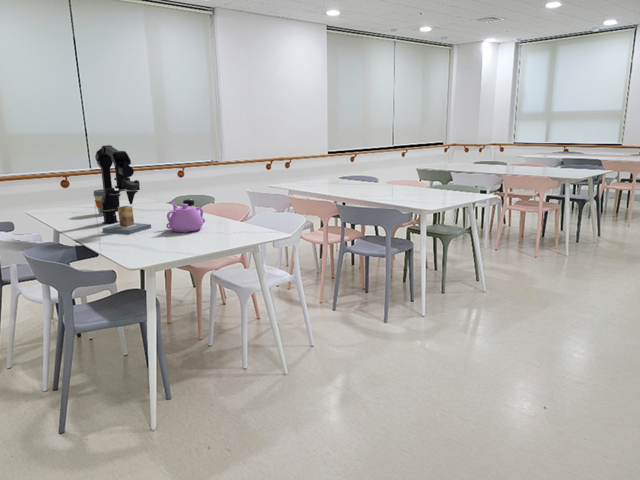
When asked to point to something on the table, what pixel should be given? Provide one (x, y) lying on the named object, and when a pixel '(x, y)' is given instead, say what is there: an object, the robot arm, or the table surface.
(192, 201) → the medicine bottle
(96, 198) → the reusable coffee cup
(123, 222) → the walnut block
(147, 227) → the board
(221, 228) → the table surface
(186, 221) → the teapot
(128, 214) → the ochre block
